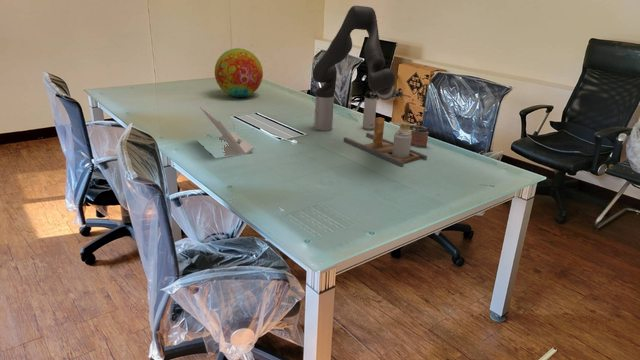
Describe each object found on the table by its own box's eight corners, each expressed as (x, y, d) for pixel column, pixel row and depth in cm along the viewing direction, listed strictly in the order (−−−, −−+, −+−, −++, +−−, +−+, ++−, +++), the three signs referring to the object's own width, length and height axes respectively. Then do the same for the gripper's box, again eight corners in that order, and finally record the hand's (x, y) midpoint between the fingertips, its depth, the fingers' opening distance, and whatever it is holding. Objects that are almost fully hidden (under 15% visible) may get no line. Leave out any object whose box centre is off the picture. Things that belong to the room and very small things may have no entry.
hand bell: (393, 132, 236) (396, 102, 230) (402, 129, 242) (405, 99, 235) (406, 136, 231) (410, 105, 225) (415, 133, 237) (419, 103, 230)
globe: (259, 103, 282) (259, 53, 270) (211, 101, 282) (208, 50, 270) (265, 92, 309) (265, 46, 297) (221, 90, 309) (219, 44, 297)
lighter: (427, 146, 218) (429, 126, 214) (426, 148, 215) (429, 128, 211) (410, 144, 221) (412, 124, 217) (409, 146, 218) (411, 125, 214)
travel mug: (374, 130, 238) (377, 92, 230) (361, 129, 239) (364, 91, 231) (375, 127, 243) (378, 90, 235) (363, 126, 245) (366, 89, 237)
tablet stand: (214, 159, 193) (212, 120, 186) (197, 141, 212) (194, 106, 206) (254, 153, 202) (253, 115, 195) (234, 136, 221) (232, 102, 214)
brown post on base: (419, 159, 201) (424, 128, 196) (400, 164, 195) (404, 132, 189) (382, 143, 219) (384, 115, 213) (363, 147, 212) (365, 118, 207)
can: (390, 154, 206) (392, 129, 201) (406, 154, 206) (409, 129, 202) (394, 160, 199) (397, 134, 194) (410, 160, 200) (414, 134, 195)
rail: (426, 160, 201) (427, 155, 200) (400, 167, 192) (401, 162, 191) (368, 136, 229) (368, 132, 228) (343, 141, 220) (343, 137, 219)
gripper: (401, 79, 192) (402, 87, 208) (367, 81, 196) (371, 90, 211) (401, 96, 192) (403, 104, 208) (368, 99, 195) (371, 106, 211)
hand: (387, 97), depth 210 cm, fingers open, 8 cm apart
